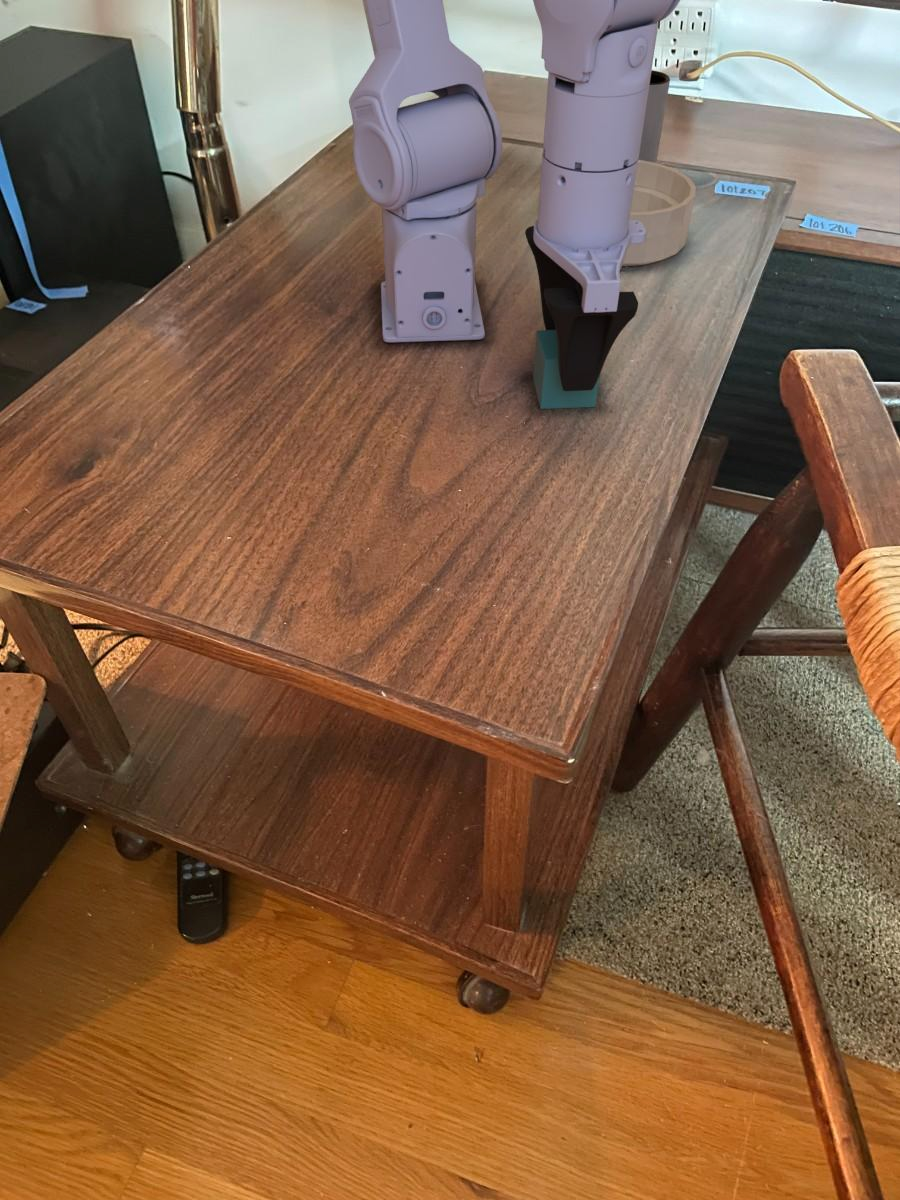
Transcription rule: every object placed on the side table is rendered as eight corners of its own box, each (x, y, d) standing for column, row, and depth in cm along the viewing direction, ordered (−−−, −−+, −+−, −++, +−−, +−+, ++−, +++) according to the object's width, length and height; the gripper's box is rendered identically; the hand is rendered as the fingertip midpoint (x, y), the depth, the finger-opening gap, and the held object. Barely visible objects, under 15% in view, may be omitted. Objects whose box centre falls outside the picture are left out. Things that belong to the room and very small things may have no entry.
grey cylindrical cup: (597, 188, 91) (611, 75, 83) (627, 177, 93) (643, 66, 85) (631, 201, 88) (648, 87, 81) (660, 190, 90) (680, 77, 83)
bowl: (700, 268, 78) (712, 211, 75) (559, 273, 78) (565, 215, 74) (666, 209, 87) (675, 156, 84) (539, 213, 86) (543, 159, 83)
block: (595, 407, 63) (602, 357, 61) (540, 409, 63) (544, 359, 60) (585, 377, 66) (592, 328, 63) (532, 378, 66) (536, 329, 63)
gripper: (687, 202, 48) (647, 414, 58) (630, 112, 58) (604, 306, 68) (558, 205, 48) (539, 418, 57) (523, 115, 58) (512, 309, 67)
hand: (568, 358), depth 63 cm, fingers open, 7 cm apart
